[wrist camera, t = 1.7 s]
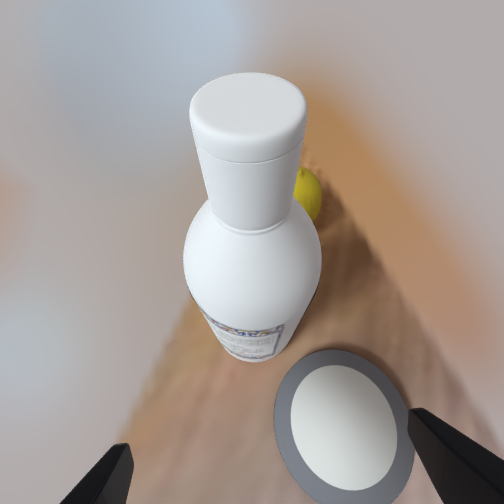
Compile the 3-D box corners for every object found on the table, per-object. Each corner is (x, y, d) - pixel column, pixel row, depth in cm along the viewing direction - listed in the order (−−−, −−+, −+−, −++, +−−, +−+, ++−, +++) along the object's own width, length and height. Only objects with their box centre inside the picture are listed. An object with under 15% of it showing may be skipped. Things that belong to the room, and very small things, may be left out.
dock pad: (424, 518, 17) (432, 524, 16) (271, 502, 17) (272, 506, 17) (393, 355, 22) (398, 354, 21) (275, 346, 22) (276, 345, 22)
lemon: (307, 205, 30) (323, 146, 23) (317, 245, 27) (337, 192, 21) (261, 208, 30) (262, 150, 23) (265, 248, 27) (268, 197, 20)
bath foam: (256, 273, 26) (257, 16, 9) (308, 325, 23) (459, 103, 6) (200, 319, 24) (50, 96, 6) (251, 382, 21) (225, 292, 4)
